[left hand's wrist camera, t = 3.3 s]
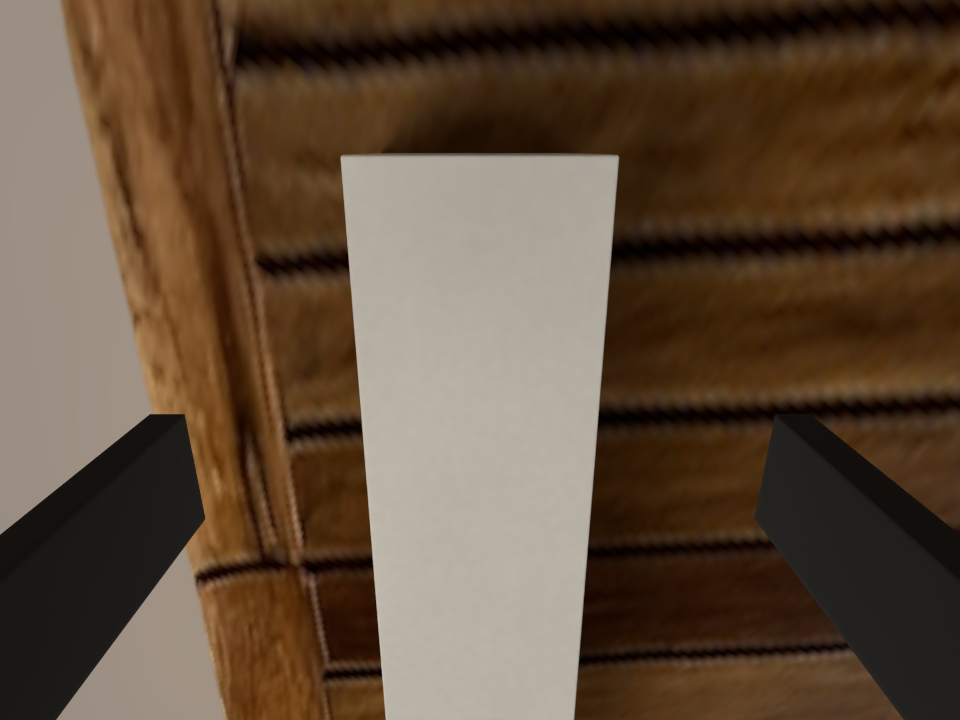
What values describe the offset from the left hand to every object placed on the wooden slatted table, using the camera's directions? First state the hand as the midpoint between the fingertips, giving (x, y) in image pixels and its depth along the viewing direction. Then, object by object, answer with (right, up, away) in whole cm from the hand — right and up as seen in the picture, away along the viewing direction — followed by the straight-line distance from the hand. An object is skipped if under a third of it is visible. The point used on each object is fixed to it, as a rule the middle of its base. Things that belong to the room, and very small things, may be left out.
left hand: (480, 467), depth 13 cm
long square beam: (0, -19, +23) cm, 30 cm away
